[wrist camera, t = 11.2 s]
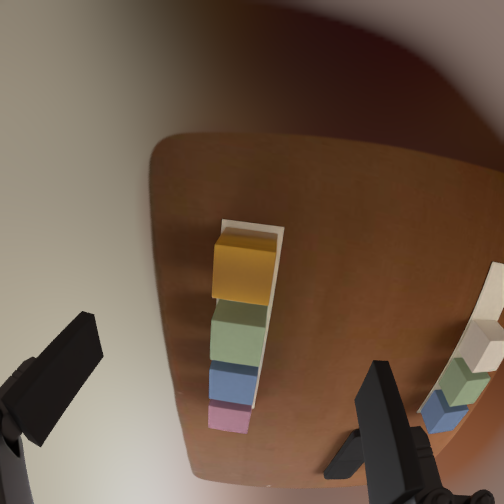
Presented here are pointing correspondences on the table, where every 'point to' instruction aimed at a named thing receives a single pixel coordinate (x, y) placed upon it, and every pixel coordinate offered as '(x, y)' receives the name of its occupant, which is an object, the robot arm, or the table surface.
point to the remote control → (346, 458)
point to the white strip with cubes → (469, 359)
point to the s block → (244, 265)
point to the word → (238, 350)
